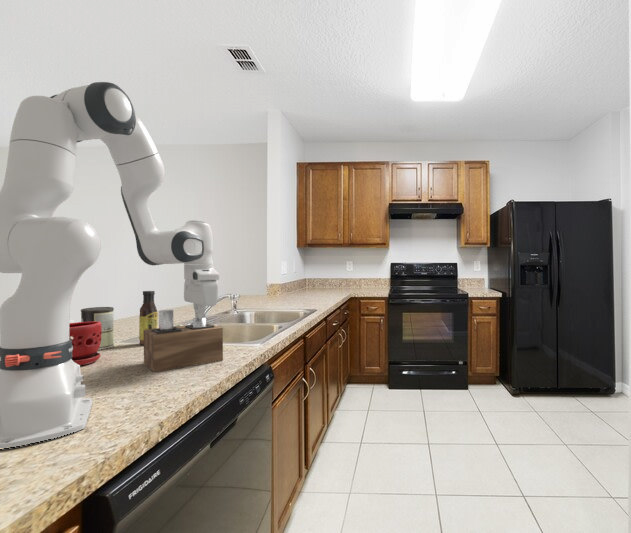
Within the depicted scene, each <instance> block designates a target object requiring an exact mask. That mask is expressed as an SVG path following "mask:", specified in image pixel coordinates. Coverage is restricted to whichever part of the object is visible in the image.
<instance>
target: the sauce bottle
mask: <svg viewBox="0 0 631 533" xmlns="http://www.w3.org/2000/svg"><path fill="white" fill-rule="evenodd" d="M155 294H156V293H155V290H142V295H143V298H142V299H143V300H142V305H141V306H140V308H139V326H138V330H139V331H138V334H139V338H138V339H139V344H140V345H142V346H144V330H148V329H157V328H159V311H158V309H157V306H156V304H155Z"/></svg>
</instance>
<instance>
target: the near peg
mask: <svg viewBox="0 0 631 533" xmlns="http://www.w3.org/2000/svg"><path fill="white" fill-rule="evenodd" d="M174 324H175V323H174V309H160V310H158V328H159V331H169V330H174V327H175V326H174Z"/></svg>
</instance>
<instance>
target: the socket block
mask: <svg viewBox="0 0 631 533" xmlns="http://www.w3.org/2000/svg"><path fill="white" fill-rule="evenodd" d="M223 330H224V328H223V327H222V326H219V325H215V324H211V323H208V322H206V326H205V327H196V328H194V327H193V324H188V325H177V326H174V330H169V331H159V327H157V329H148V330H144V345H143V363H145V364H146V366H147V368H149V369H150V368H151V369H152V370H153V371H154V372H153V371H152V370H151V369H150V370H151V371H152V372H153V373H156V371H158V372H163V371H168V370H174V369H175V370H176V369H180V368H186V366H187V367H191V366H192V367H193V366H197V365H198V366H199V365H204V363H205V364H209V363H210V362H211V363H216V362H215V361H217V362H222V361H221V360H223V361H224V346H223V345H224V344H223V343H224V342H223V341H224V338H223V336H224V334H223V332H224V331H223ZM145 364H144V365H145Z"/></svg>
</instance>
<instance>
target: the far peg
mask: <svg viewBox="0 0 631 533" xmlns="http://www.w3.org/2000/svg"><path fill="white" fill-rule="evenodd" d="M206 323H207V317H204V318H203V319H199V318H196V317H194V318H192V325H193V327H194V328H196V327H205V326H206Z"/></svg>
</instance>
